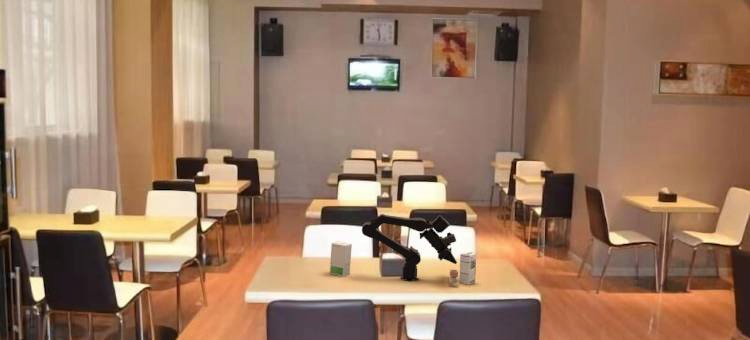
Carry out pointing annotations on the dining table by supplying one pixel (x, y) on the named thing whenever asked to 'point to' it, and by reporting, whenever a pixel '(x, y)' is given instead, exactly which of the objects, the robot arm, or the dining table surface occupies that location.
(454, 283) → the beech block
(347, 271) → the skincare box
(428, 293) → the dining table surface
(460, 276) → the syrup box
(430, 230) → the robot arm
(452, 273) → the terracotta block
